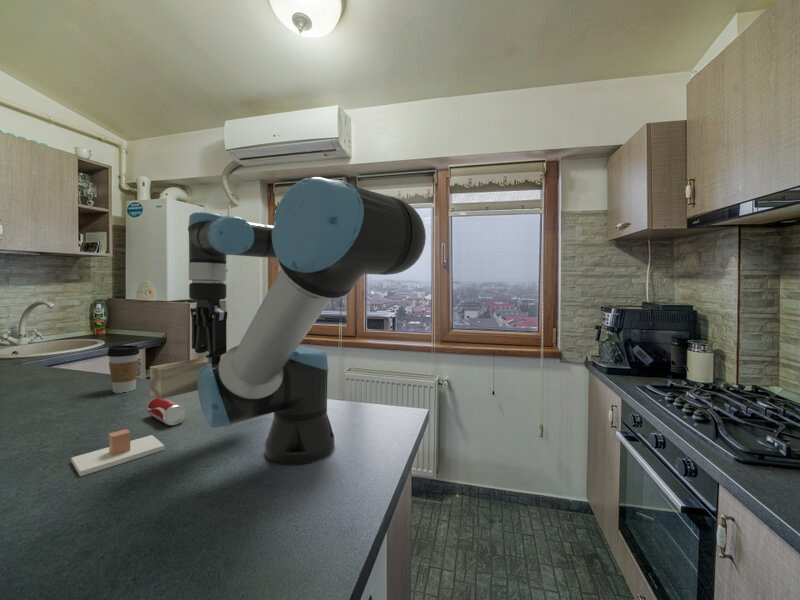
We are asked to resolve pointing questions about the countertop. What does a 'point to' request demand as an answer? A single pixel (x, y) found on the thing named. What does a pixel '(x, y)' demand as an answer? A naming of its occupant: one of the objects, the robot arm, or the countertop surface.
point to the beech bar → (175, 378)
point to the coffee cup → (123, 367)
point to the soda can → (166, 411)
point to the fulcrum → (116, 452)
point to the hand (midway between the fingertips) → (208, 381)
